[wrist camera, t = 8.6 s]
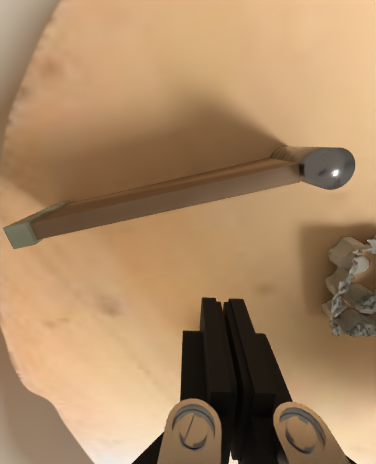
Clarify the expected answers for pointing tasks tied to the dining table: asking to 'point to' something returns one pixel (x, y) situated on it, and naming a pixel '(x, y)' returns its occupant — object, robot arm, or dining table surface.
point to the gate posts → (320, 164)
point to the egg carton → (350, 289)
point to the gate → (152, 200)
